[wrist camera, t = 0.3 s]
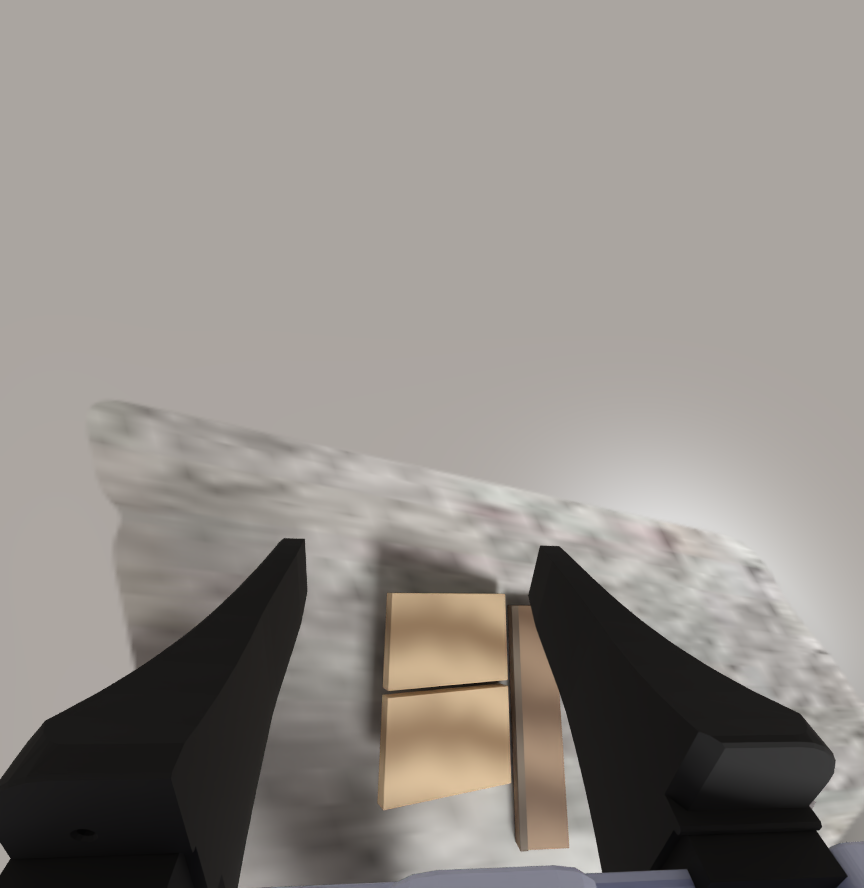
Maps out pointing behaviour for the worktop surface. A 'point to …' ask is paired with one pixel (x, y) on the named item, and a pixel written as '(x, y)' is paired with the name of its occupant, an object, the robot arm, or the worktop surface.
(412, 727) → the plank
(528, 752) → the floor panel
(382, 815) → the worktop surface
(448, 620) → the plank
